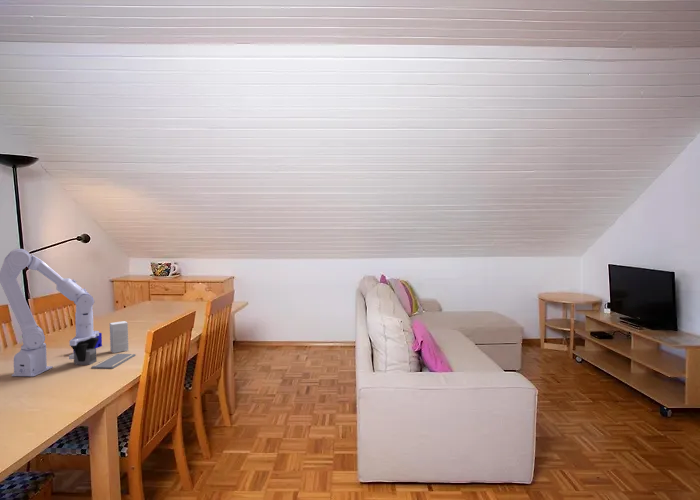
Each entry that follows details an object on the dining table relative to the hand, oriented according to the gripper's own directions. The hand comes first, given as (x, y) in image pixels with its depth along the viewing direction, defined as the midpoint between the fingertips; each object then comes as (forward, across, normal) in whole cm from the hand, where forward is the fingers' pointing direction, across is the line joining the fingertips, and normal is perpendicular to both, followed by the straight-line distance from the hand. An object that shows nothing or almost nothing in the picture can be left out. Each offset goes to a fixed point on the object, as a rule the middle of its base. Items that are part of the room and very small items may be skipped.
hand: (85, 359), depth 161 cm
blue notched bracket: (+2, +17, +10) cm, 20 cm away
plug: (+1, 0, +1) cm, 2 cm away
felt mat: (+1, +2, -10) cm, 10 cm away
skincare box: (+2, +16, -4) cm, 17 cm away
